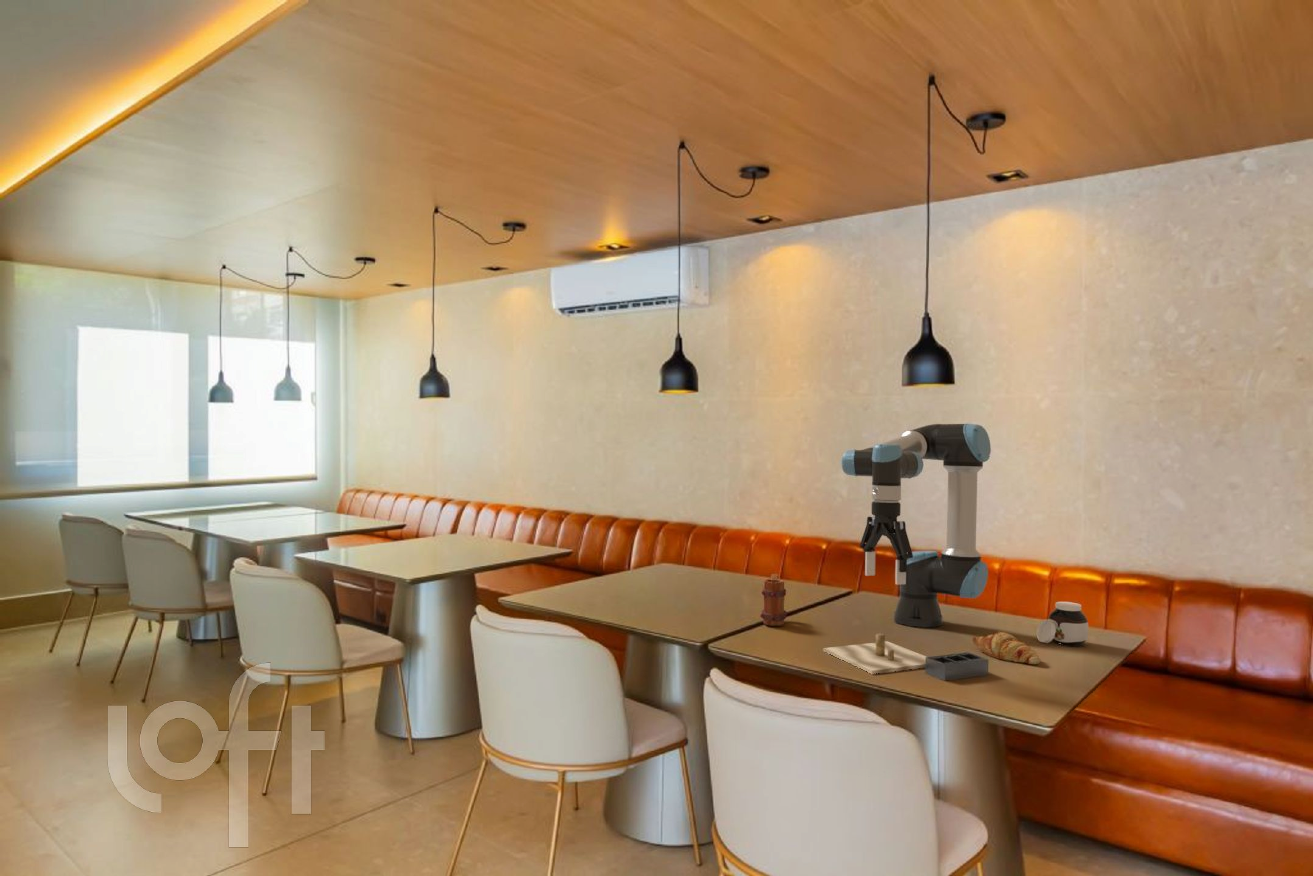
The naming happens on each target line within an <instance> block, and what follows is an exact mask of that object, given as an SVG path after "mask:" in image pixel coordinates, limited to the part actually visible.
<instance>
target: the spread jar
mask: <svg viewBox="0 0 1313 876" xmlns="http://www.w3.org/2000/svg"><path fill="white" fill-rule="evenodd" d="M1035 635H1036V637H1037V639H1038V641H1039V642H1041V643H1044V644H1049V643H1050V642H1052V641H1053V642H1054V643H1055V642H1056V643H1055V644H1057V643H1061V644H1063V645H1062V646H1064V645H1070V646H1069V647H1080V646H1082V645H1084V644H1085V643H1086V642H1087V640H1088V639H1089V638H1088V637H1089V622H1088V618H1087V616H1086V615H1085V613H1083V612H1082V604H1080V603H1076V602H1071V601H1057V602H1055V609H1053V610H1052V611H1051V612H1050V613H1049V616H1048V619H1047V618H1046V619H1043V620H1040V622H1039V624H1038V626H1037V628H1036V634H1035ZM1079 645H1080V646H1079Z"/></svg>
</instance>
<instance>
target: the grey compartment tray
mask: <svg viewBox="0 0 1313 876" xmlns="http://www.w3.org/2000/svg"><path fill="white" fill-rule="evenodd" d="M924 669H925V672H924V673H925V674H927V675H929V674H930V675H929V676H931V677H934V678H936V677H937V678H936V679H940V680H941V681H943V680H944V681H943V682H947V680H948V681H954V680H962V679H969V678H977V677H984V676H989V659H988V658H986V657H983V656H980V655H977V654H975V653H972V652H967V651H966V652H959V653H958V652H957V653H951V654H940V655H934V656H926V661H925V668H924Z"/></svg>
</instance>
